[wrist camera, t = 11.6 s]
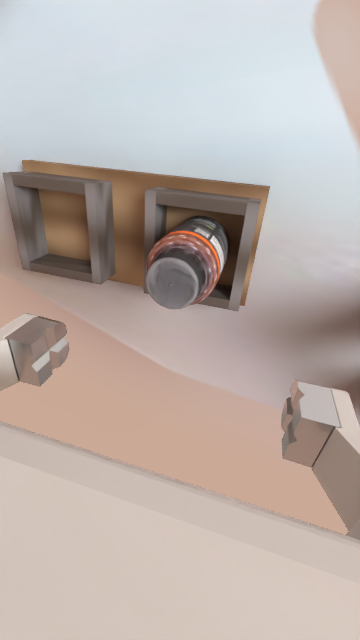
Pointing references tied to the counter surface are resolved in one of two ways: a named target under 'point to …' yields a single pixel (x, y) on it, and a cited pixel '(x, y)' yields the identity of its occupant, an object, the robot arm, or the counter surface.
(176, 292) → the supplement bottle
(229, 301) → the wood and grey tray
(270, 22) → the counter surface
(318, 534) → the robot arm
